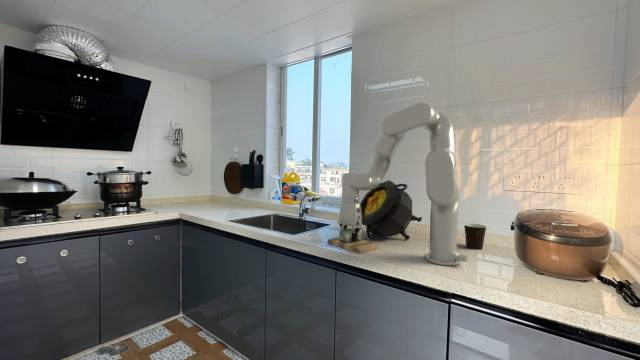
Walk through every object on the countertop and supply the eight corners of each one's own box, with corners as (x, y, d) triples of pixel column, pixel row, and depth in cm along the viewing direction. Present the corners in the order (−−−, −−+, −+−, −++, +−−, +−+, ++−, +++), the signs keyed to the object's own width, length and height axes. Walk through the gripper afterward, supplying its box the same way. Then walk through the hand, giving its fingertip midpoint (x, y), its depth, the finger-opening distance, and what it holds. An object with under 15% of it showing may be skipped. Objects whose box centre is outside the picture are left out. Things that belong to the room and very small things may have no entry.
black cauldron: (432, 235, 128) (398, 204, 120) (383, 258, 143) (350, 232, 135) (423, 195, 150) (394, 166, 142) (381, 218, 165) (353, 194, 156)
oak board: (378, 248, 124) (378, 243, 124) (360, 253, 116) (360, 248, 116) (345, 239, 139) (345, 235, 139) (327, 243, 131) (327, 239, 131)
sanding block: (361, 240, 129) (361, 229, 129) (346, 243, 124) (346, 231, 124) (353, 237, 133) (354, 227, 133) (339, 240, 128) (339, 229, 128)
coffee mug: (467, 244, 133) (468, 222, 132) (488, 247, 127) (488, 225, 126) (458, 248, 125) (458, 226, 124) (479, 253, 118) (480, 229, 118)
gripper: (370, 201, 124) (369, 242, 124) (342, 198, 137) (341, 235, 137) (359, 203, 119) (358, 245, 120) (331, 199, 132) (330, 237, 132)
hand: (349, 239), depth 128 cm, fingers closed on sanding block, 5 cm apart
